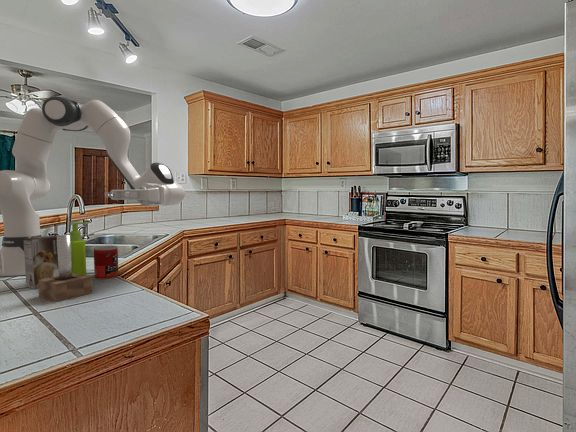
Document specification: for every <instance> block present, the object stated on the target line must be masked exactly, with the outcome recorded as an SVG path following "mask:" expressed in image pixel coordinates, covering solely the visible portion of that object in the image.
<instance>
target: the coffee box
mask: <svg viewBox="0 0 576 432" xmlns="http://www.w3.org/2000/svg"><path fill="white" fill-rule="evenodd" d="M23 243H24V258H25V274H26V275H25V287H26V288H27V287H28V288H31V289H34V290H37V289H38V290H39V285H38V280H40V279H46V278H51V277H52V269H53V268H58V252H57V235H47V236H45V235H43V236H42V237H33V238H23Z"/></svg>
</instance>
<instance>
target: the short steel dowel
mask: <svg viewBox="0 0 576 432" xmlns="http://www.w3.org/2000/svg"><path fill="white" fill-rule="evenodd" d="M56 276H59V273H58V268H53V269H52V277H56Z"/></svg>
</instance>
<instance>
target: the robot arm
mask: <svg viewBox="0 0 576 432" xmlns="http://www.w3.org/2000/svg"><path fill="white" fill-rule="evenodd" d="M88 128H90V129H91V130H92V131H93V132H94V133H95V134H96V135H97V136H98V138H99V139H100V140H101V142H102V144H103V146H104V147H105V150H106V155H107V157H108V159H109V161H110V162H111V163H112V164H113V166H114V167H115V169H116V170H117V172H119V174H120V175H121V177H122V178H123V179H124V180H125V182H126V183H127V185H128V186H129V188H130V189H111V190H110V192H108V191H107V192H105V193H104V197H105V198H110V200H115V201H116V200H117V201H125V200H126V201H137V202H138V203H139V204H140V205H141V206H142V207H159V206H162V207H163V206H166V207H167V206H168V207H169V206H175V205H179V204H180V203H182V202H183V200H184V199H185V196H186V190H185V188H184V186H182V185H181V184H180V183H178V182H177V181H176V180H175V179H174V176H173V173H172V171H171V168H169V166H167V165H166V164H164V163H162V162H161V163H160V162H152V163H151V164H150V165H149V166H148V167H147V168H146V169H145V170H144V172H143V173H141V175H140V174H139V173H138V171H137V170H136V169H135V168H134V165H132V163H131V161H130V160H129V157H128V151H129V145H130V143H131V142H130V141H131V130H130V128H129V126H128V124H127V123H126V122H125V121H124V120H123V118H121V117H120V116H119V115H118V113H116V112H115V111H114V110H113V109H112V108H111V107H109V105H107V104H106V103H105V102H103V101H102V100H99V99H91V100H89V101H87V102H85V103H84V104H80V103H79V102H77V101H75V100H73V99H70V98H67V97H63V96H56V95H55V96H50V97H48V98H46V99H45V100H44V101H43V103H42V105H41V108H39V107H32V108H30V109H29V110H27V112H26V113H25V115H24V117H23V118H22V121H21V123H20V125H19V128H18V131H17V133H16V137H15V140H14V142H13V146H12V149H11V154H12V155H13V157H14V158H15V163H16V164H15V165H16V168H15V170H13V169H12V170H11V169H10V170H9V169H5V170H4V169H3V170H0V213H1V216H2V224H3V237H2V240H1V246H2V247H1V248H0V277H12V276H13V277H14V276H15V277H16V276H26V274H25V258H24V243H23V238H33V237H43V236H42V234H41V225H40V223H41V222H40V221H41V220H40V215H39V213H38V212H37V211H36V210H35V209H34V207H33V205H32V202H31V200H38V199H40V198H44V197H45V196H47V195H48V194H49V192H50V190H51V183H50V181H49V179H48V177H47V176H48V174H47V172H48V171H47V169H48V167H47V165H48V159H49V156H50V152H51V149H52V145H53V142H54V140H55V137H56V134H57V133H58V131H60V130H61V131H62V130H63V131H67V132H68V131H69V132H70V131H71V132H81V131H84V130H87V129H88Z"/></svg>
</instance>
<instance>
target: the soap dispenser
mask: <svg viewBox="0 0 576 432" xmlns="http://www.w3.org/2000/svg"><path fill="white" fill-rule="evenodd" d="M69 225H70V226H71V227H72V230H71V231H70V232H69V235H70V238H71V260H72V273H75V274H80V275H85V276H87V260H86V259H87V255H86V240H84V239H82V231H80V230H79V225H88V222H85V221H84V222H83V221H76V222H69Z"/></svg>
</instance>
